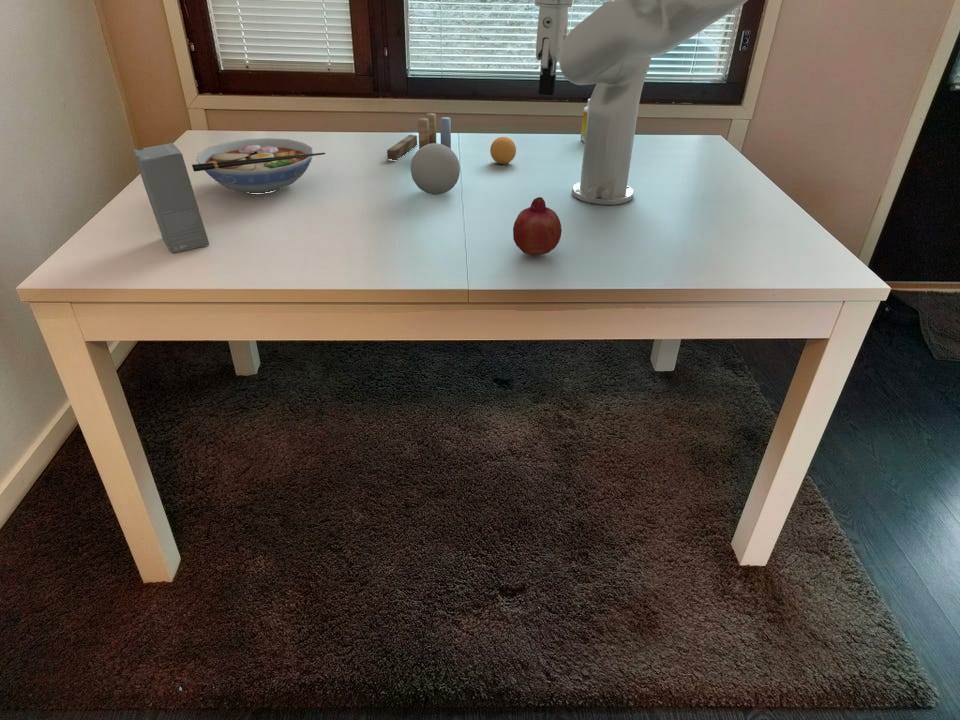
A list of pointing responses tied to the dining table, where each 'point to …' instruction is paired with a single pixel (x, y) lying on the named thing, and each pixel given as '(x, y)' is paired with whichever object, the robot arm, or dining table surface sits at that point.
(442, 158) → the ball
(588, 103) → the supplement bottle
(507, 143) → the orange ball
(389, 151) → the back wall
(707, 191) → the dining table surface
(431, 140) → the pin
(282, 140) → the ramen bowl
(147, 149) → the skincare box
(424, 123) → the pin
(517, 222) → the fruit
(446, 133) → the front pin
